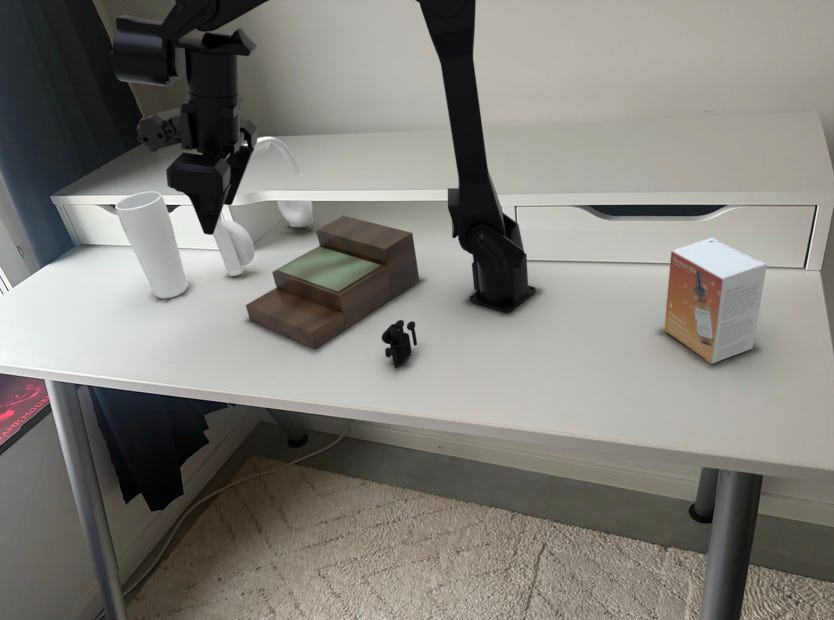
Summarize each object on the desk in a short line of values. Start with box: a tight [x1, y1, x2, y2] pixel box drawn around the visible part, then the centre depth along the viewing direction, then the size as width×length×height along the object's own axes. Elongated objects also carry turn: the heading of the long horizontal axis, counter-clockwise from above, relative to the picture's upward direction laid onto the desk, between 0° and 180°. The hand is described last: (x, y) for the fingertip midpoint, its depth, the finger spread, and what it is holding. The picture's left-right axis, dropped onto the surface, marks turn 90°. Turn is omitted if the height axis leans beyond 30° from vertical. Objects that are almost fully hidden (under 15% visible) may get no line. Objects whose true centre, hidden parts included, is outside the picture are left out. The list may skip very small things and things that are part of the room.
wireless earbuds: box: [381, 319, 418, 369], centre depth 85 cm, size 7×2×5 cm, turn 152°
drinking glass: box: [115, 190, 189, 299], centre depth 107 cm, size 7×7×15 cm
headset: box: [212, 136, 314, 277], centre depth 113 cm, size 20×7×18 cm, turn 148°
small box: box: [663, 237, 768, 365], centre depth 77 cm, size 8×6×10 cm
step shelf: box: [245, 215, 420, 350], centre depth 99 cm, size 14×20×8 cm
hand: (218, 218), depth 90 cm, fingers open, 9 cm apart
